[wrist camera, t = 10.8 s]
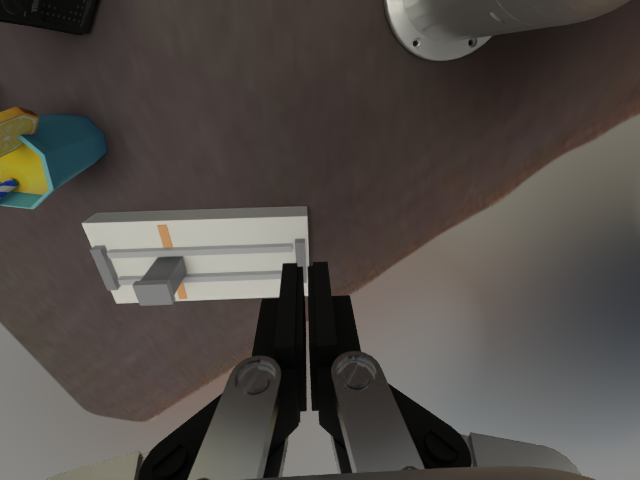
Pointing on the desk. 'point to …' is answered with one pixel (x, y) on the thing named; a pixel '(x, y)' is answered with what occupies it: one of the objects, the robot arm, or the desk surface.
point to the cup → (43, 154)
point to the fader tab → (160, 281)
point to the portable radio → (49, 14)
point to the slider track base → (201, 249)
